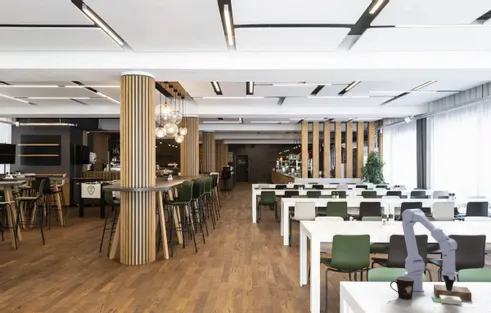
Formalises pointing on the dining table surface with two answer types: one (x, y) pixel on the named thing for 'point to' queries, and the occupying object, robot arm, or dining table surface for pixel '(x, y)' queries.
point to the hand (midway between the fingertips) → (449, 290)
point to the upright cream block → (450, 299)
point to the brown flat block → (453, 292)
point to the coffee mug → (404, 287)
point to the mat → (436, 299)
